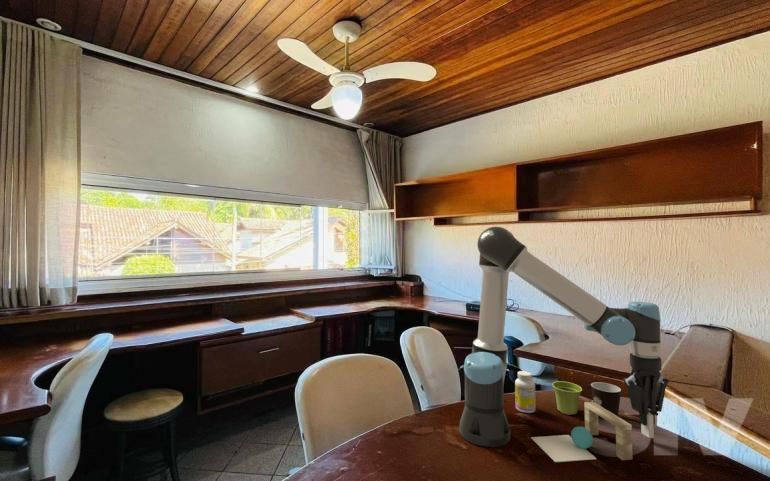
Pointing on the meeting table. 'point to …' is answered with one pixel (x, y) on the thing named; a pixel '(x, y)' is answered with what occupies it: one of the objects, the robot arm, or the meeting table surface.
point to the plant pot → (567, 396)
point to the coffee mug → (606, 396)
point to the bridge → (621, 426)
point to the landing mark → (562, 448)
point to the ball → (581, 437)
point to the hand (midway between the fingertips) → (647, 435)
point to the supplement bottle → (525, 392)
